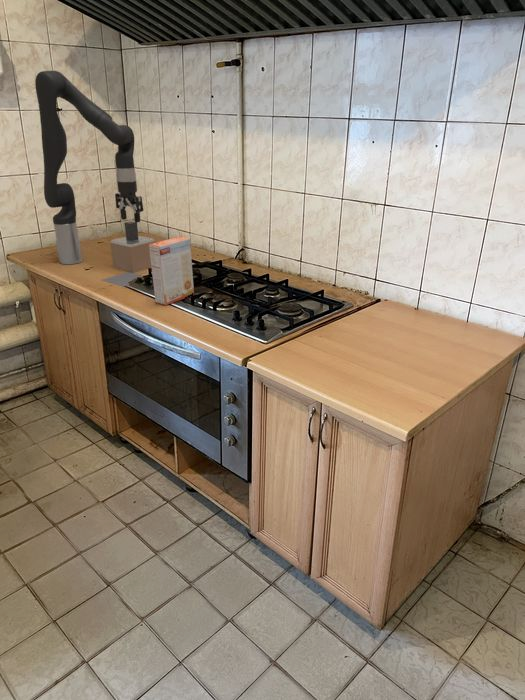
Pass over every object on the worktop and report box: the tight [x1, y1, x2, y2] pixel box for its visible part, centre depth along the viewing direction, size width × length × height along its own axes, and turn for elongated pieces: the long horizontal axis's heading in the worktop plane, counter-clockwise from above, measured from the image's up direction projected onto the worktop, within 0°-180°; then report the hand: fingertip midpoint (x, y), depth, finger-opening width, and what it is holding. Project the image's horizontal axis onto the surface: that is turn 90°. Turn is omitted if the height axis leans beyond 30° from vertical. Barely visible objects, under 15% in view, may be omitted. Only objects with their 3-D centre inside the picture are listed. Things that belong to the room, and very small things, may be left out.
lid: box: [110, 220, 155, 247], centre depth 220 cm, size 12×12×8 cm
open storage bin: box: [110, 240, 156, 273], centre depth 224 cm, size 13×13×11 cm
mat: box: [101, 271, 144, 288], centre depth 210 cm, size 14×14×1 cm
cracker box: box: [149, 236, 195, 306], centre depth 185 cm, size 14×6×21 cm, turn 141°
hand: (130, 220), depth 218 cm, fingers open, 8 cm apart
